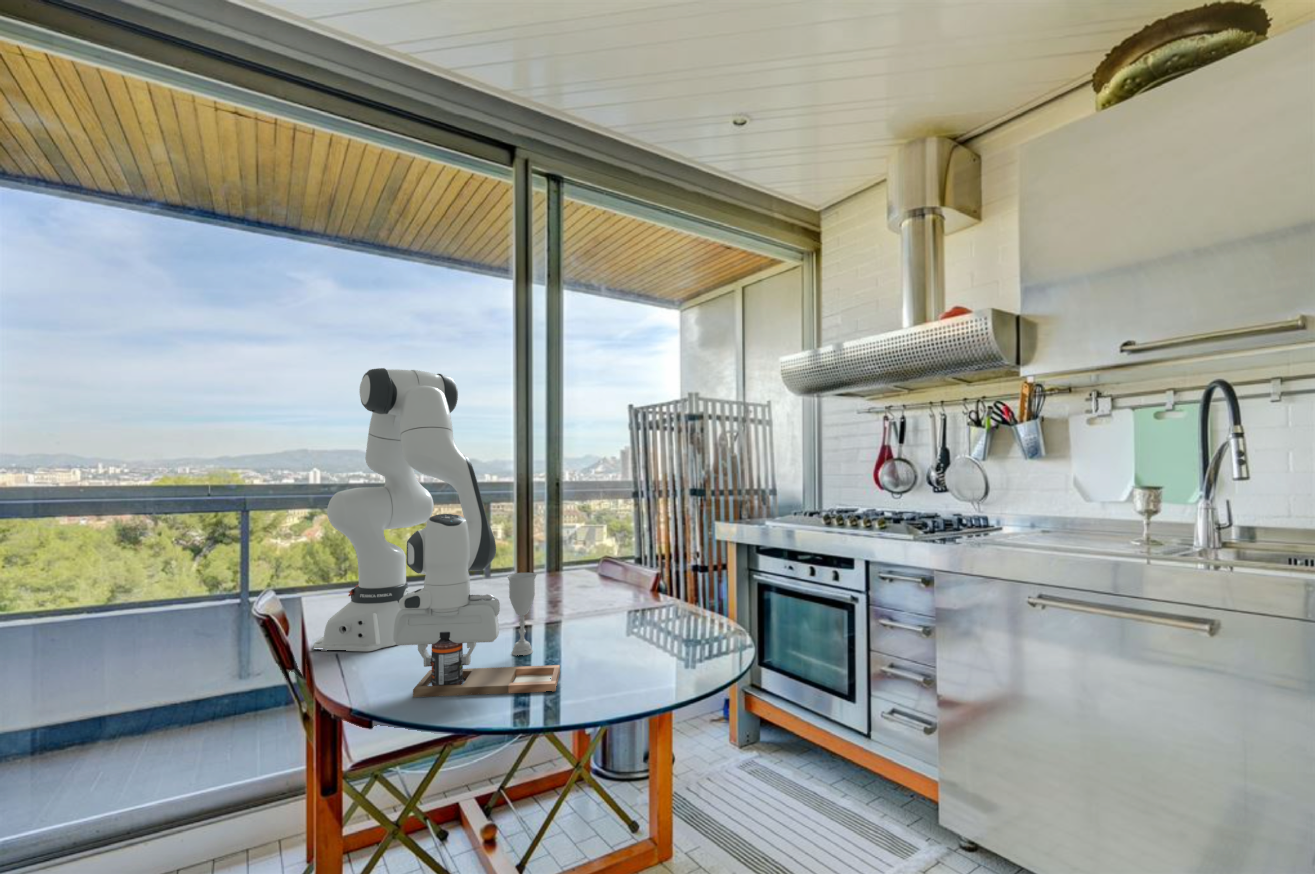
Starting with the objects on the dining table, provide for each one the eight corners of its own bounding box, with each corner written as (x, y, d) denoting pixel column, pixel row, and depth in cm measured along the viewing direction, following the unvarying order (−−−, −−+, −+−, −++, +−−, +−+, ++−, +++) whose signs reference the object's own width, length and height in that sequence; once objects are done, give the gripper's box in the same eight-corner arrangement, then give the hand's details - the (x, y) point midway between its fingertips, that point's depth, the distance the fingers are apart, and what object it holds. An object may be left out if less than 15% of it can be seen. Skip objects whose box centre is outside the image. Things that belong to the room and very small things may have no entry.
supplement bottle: (430, 683, 125) (430, 627, 125) (461, 678, 127) (461, 623, 128) (432, 693, 120) (432, 634, 120) (464, 688, 122) (464, 630, 122)
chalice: (529, 657, 141) (529, 578, 141) (501, 656, 142) (501, 577, 143) (541, 648, 148) (541, 572, 148) (515, 647, 149) (515, 572, 150)
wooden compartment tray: (412, 697, 118) (412, 689, 118) (429, 677, 129) (429, 670, 129) (555, 691, 120) (555, 683, 120) (559, 672, 131) (559, 665, 131)
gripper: (502, 590, 128) (502, 658, 128) (401, 593, 127) (401, 661, 126) (496, 597, 122) (496, 668, 121) (390, 600, 120) (390, 672, 120)
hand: (447, 665), depth 124 cm, fingers closed on supplement bottle, 6 cm apart
